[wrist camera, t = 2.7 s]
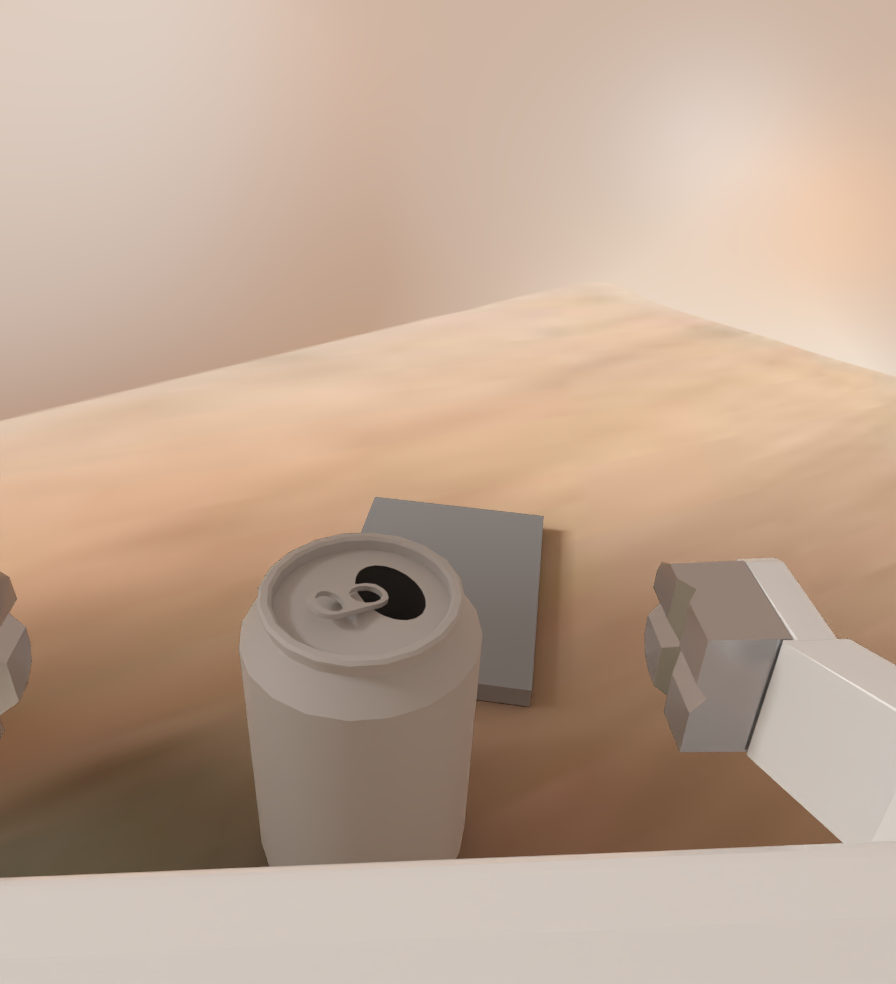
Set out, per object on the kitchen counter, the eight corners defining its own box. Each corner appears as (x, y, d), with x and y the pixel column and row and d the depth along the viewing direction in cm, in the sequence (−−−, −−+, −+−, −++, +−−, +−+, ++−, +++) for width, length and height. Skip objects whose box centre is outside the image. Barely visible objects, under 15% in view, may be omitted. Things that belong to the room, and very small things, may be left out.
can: (503, 861, 31) (537, 612, 24) (321, 976, 27) (305, 717, 20) (396, 727, 36) (401, 493, 29) (230, 808, 32) (194, 559, 25)
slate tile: (529, 706, 37) (531, 690, 36) (311, 677, 38) (310, 661, 37) (541, 530, 49) (543, 516, 48) (375, 510, 50) (375, 496, 49)
